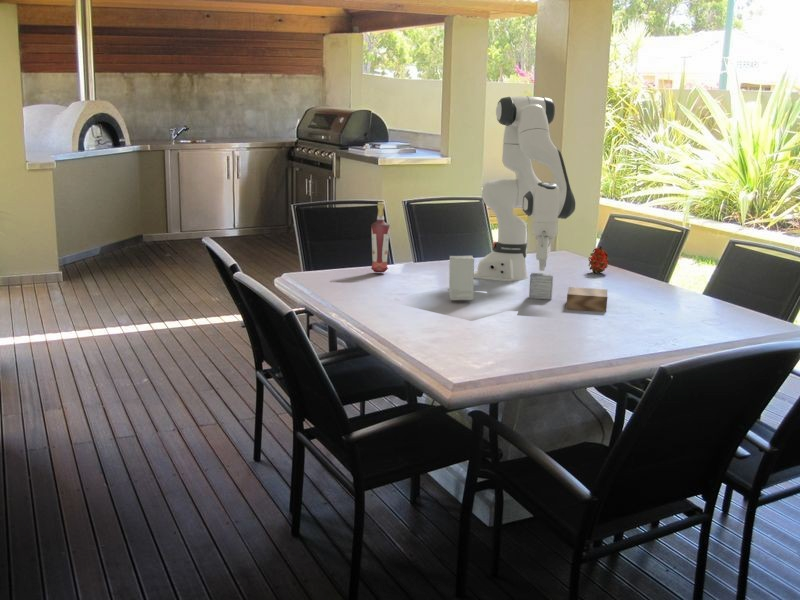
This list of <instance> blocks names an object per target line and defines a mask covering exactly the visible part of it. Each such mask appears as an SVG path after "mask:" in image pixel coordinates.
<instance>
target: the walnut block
mask: <svg viewBox="0 0 800 600" xmlns="http://www.w3.org/2000/svg"><path fill="white" fill-rule="evenodd" d="M565 306H566V310H575V311H577V310H579V311H589V312H590V311H591V312H592V311H593V312H594V311H595V312H607V306H608V289H603V288H590V287H577V286H576V287H575V286H569V287H568V291H567V294H566V305H565Z"/></svg>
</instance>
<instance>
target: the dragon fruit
mask: <svg viewBox="0 0 800 600" xmlns="http://www.w3.org/2000/svg"><path fill="white" fill-rule="evenodd" d="M609 263H610V260H609V254H608V252H606V251H605V249H604V248H603V247H602V246H601V245H599V246H598V247H595V248H594V249H593V250H592V253H590V256H588V266H589V270H590V271H592V273H596V274H597V273H600V274H602V273H603V272H604V271H605V270H606V269H607V268H608V266H609Z"/></svg>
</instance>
